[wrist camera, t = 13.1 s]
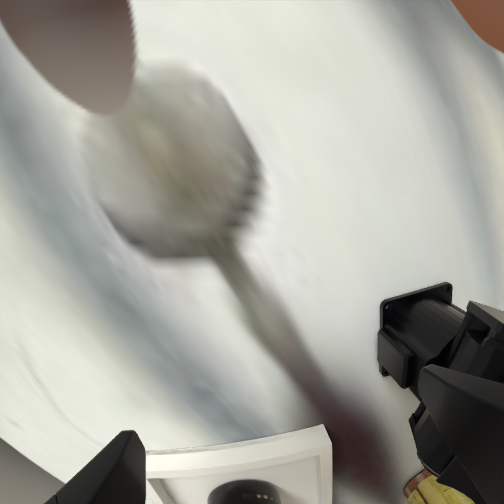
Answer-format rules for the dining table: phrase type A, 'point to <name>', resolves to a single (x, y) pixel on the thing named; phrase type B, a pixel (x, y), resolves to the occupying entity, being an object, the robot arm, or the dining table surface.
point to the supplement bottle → (244, 493)
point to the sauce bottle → (432, 491)
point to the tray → (245, 468)
